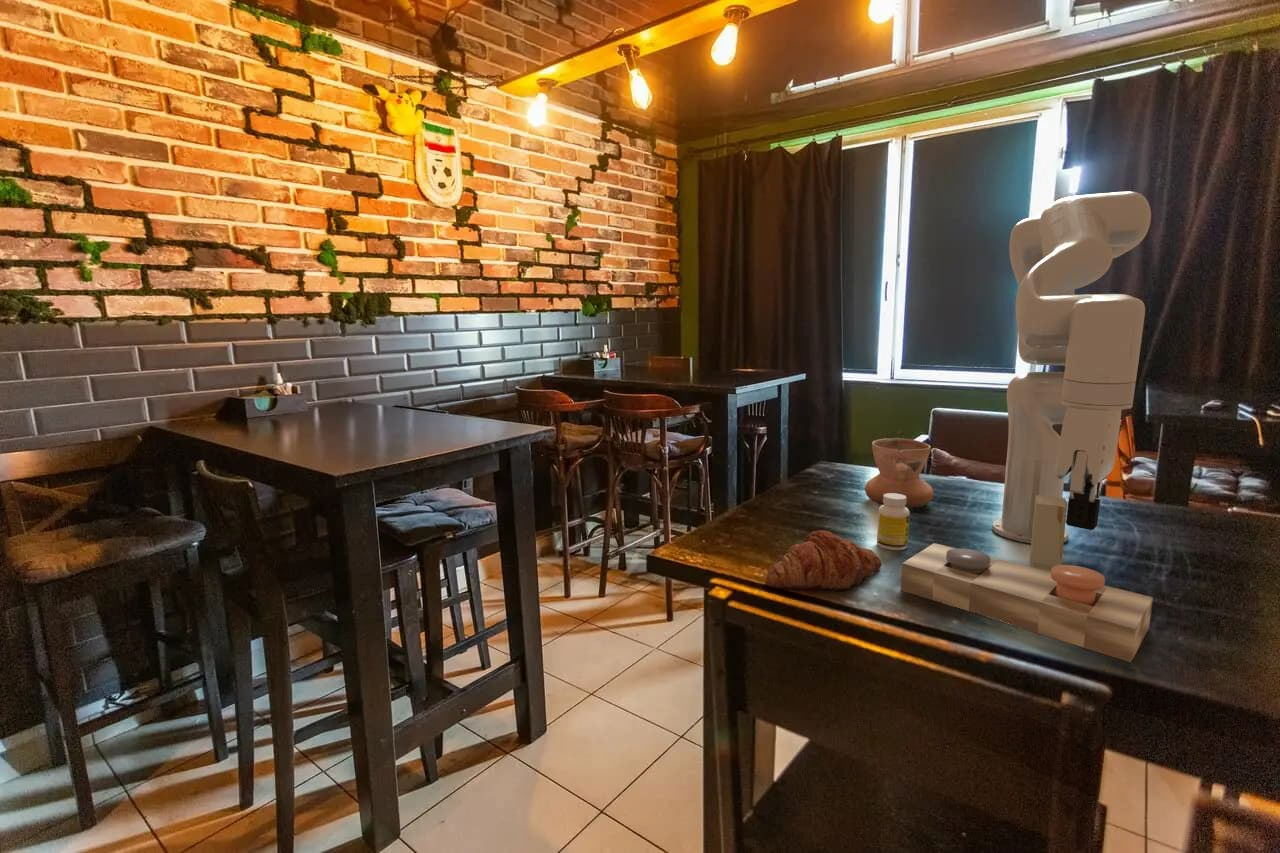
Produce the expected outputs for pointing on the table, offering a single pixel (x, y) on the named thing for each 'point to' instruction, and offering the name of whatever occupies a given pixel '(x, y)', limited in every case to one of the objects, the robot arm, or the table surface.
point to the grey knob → (968, 560)
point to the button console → (1032, 602)
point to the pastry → (823, 564)
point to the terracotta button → (1077, 583)
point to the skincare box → (1048, 532)
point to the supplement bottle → (893, 522)
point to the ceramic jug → (900, 471)
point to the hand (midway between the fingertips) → (1081, 525)
